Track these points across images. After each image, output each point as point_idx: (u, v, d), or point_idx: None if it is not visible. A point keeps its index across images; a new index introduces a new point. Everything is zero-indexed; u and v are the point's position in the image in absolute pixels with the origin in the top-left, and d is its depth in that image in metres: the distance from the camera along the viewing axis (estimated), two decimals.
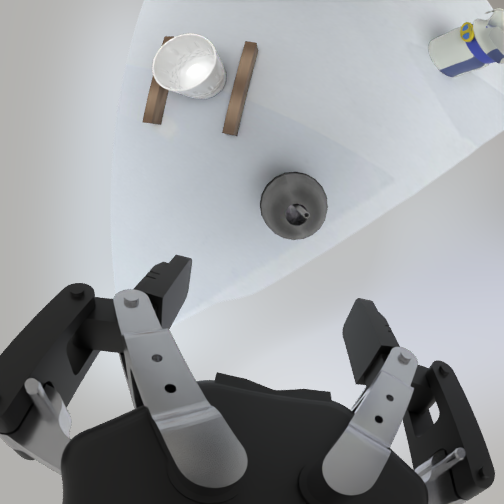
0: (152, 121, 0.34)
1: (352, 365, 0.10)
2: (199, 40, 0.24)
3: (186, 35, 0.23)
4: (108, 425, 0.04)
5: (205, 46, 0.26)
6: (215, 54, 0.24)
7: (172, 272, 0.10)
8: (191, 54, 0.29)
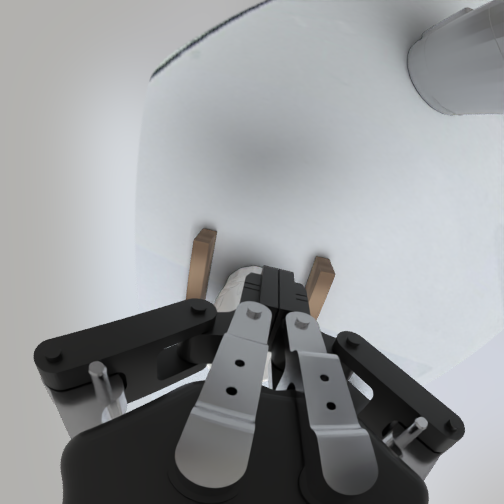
0: None
1: None
2: None
3: None
4: (108, 425, 0.04)
5: None
6: None
7: (271, 283, 0.11)
8: None
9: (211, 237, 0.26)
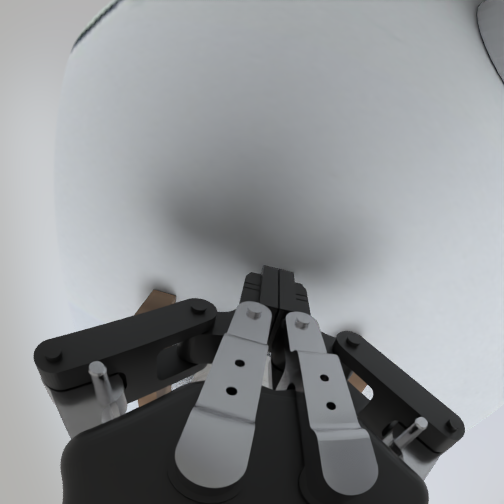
0: None
1: None
2: None
3: None
4: (108, 425, 0.04)
5: None
6: None
7: (271, 283, 0.11)
8: None
9: None
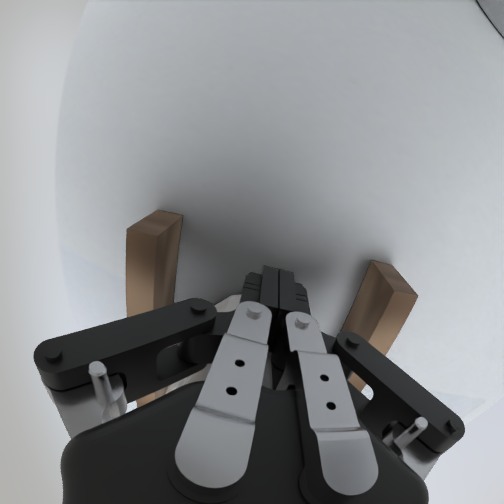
0: None
1: None
2: None
3: None
4: (108, 425, 0.04)
5: None
6: None
7: (271, 283, 0.11)
8: None
9: (167, 224, 0.12)
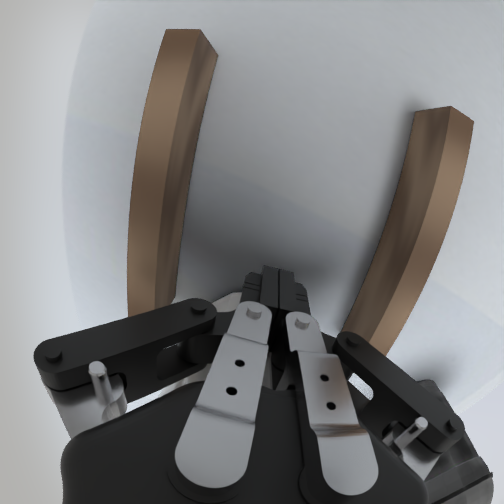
0: None
1: None
2: None
3: None
4: (108, 425, 0.04)
5: None
6: None
7: (271, 283, 0.11)
8: None
9: None
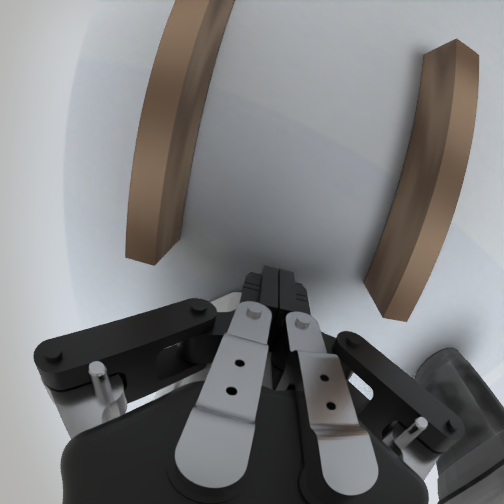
0: (157, 257, 0.11)
1: None
2: None
3: None
4: (108, 425, 0.04)
5: None
6: None
7: (271, 283, 0.11)
8: None
9: None
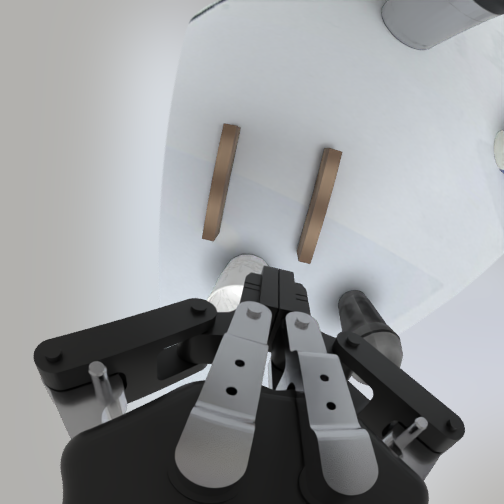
0: (214, 238, 0.33)
1: None
2: None
3: None
4: (108, 425, 0.04)
5: None
6: None
7: (271, 283, 0.11)
8: None
9: (237, 126, 0.29)
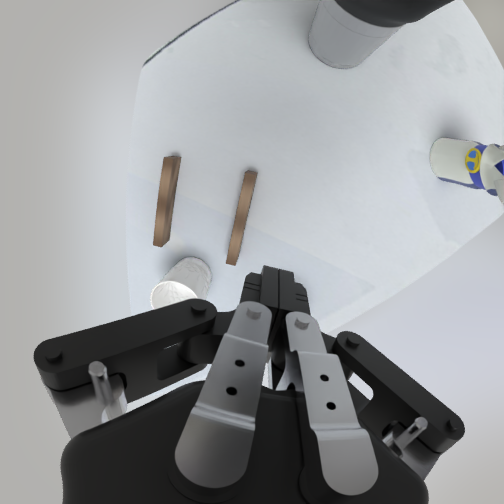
0: (162, 245, 0.42)
1: None
2: (188, 283, 0.38)
3: (177, 283, 0.36)
4: (108, 425, 0.04)
5: None
6: None
7: (271, 283, 0.11)
8: None
9: (176, 158, 0.38)
